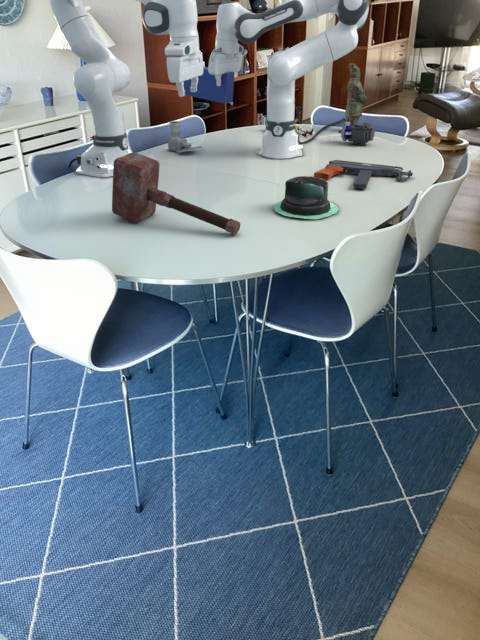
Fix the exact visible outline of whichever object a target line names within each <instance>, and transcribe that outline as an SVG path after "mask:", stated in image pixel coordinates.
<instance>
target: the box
mask: <svg viewBox="0 0 480 640" xmlns="http://www.w3.org/2000/svg"><path fill="white" fill-rule="evenodd" d="M235 73H236V72H227V73H224V74H222V75H221V81H222V86H217V81H216V78H215V75H211V74H209V72H208V66H204V65H203V75H201V76H198V83H197V91H196V92H191V91H190V90H191V89H190V86H191V79H189V80H186V81H184V85H183V87H184V90H185V94H186V95H185V96H189V97H192V98H197V99H201V100H207V101H210V102H215V103H221V104H229V103H233V102H234V101H233V100H234V87H235V75H236V74H235Z"/></svg>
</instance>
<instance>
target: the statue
mask: <svg viewBox="0 0 480 640" xmlns="http://www.w3.org/2000/svg"><path fill="white" fill-rule="evenodd" d="M348 70H349V73H350V75H349V76H350V78H349V81H348V82H347V85H346V90H347V98H346V99H347V100H346V101H347V102H346V106H345V112H344V115H345V120H346V121H345V123H346V122H350V124H352V127H354V125H355V124H357V125H359V124H358V123H359V121H360V118H361V117H362V116H363V108H364V104H365V103H367V102H368V96H367V95H366V94H365V91H364V86H363V84H362V82H361V68H360V67H359V66H358V65H357V64H356V63H351V62H350V63H348Z"/></svg>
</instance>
